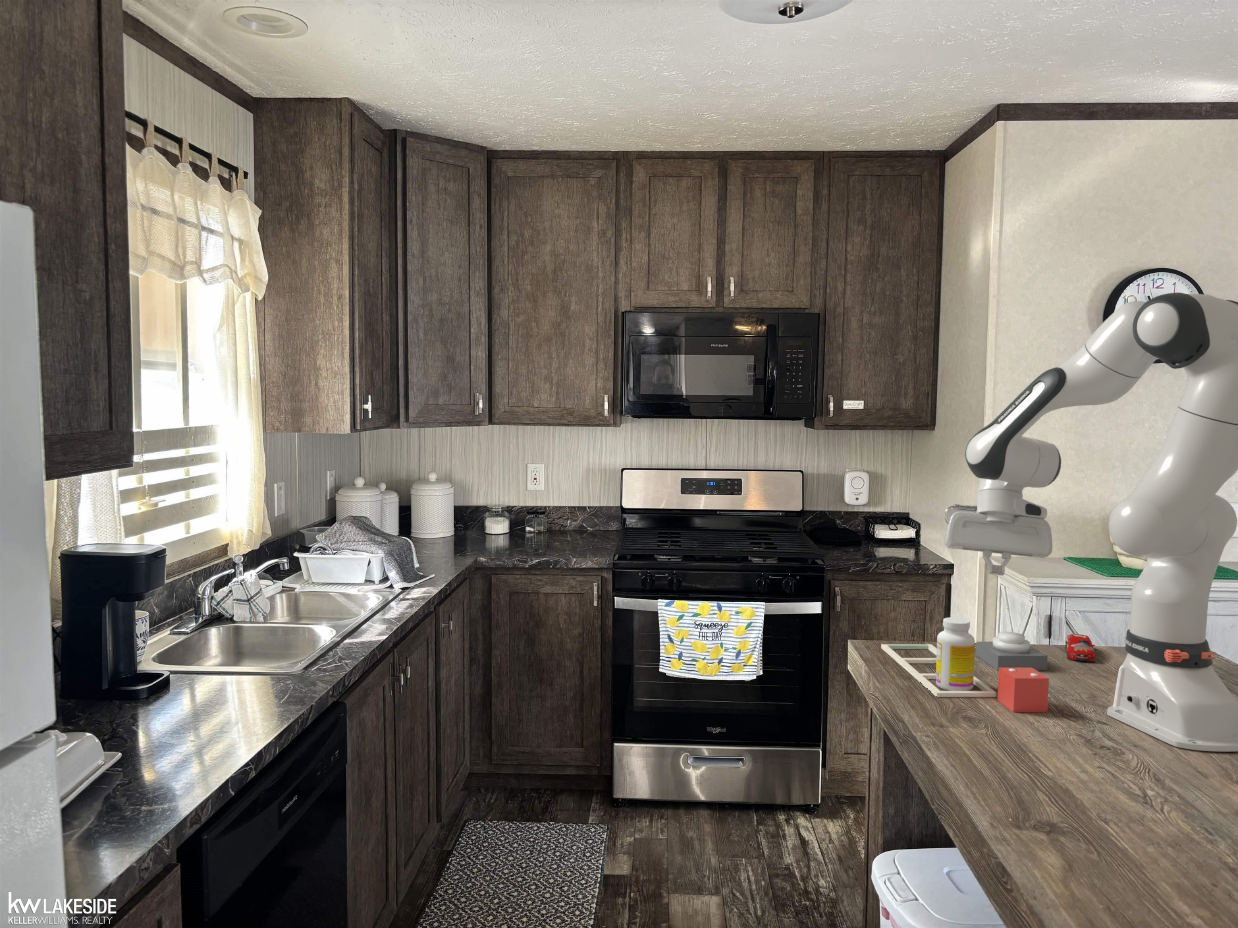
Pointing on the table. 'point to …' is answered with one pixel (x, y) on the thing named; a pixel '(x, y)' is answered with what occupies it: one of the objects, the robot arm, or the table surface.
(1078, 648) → the race car
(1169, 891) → the table surface
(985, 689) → the track
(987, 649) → the dome base
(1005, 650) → the dome
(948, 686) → the supplement bottle
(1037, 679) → the die
